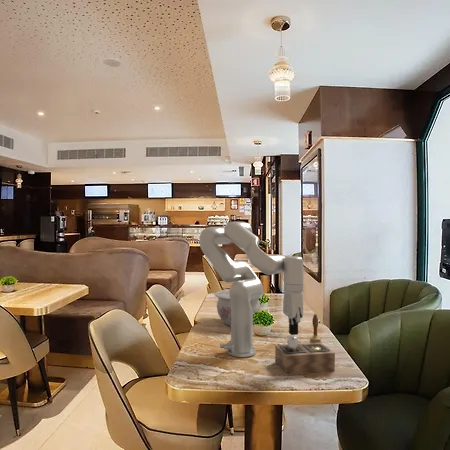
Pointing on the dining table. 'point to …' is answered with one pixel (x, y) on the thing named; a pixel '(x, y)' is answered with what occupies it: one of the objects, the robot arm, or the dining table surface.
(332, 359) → the walnut block
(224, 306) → the chamber pot
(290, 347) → the steel plunger
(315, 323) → the hand bell
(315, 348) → the brass plunger
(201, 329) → the dining table surface
